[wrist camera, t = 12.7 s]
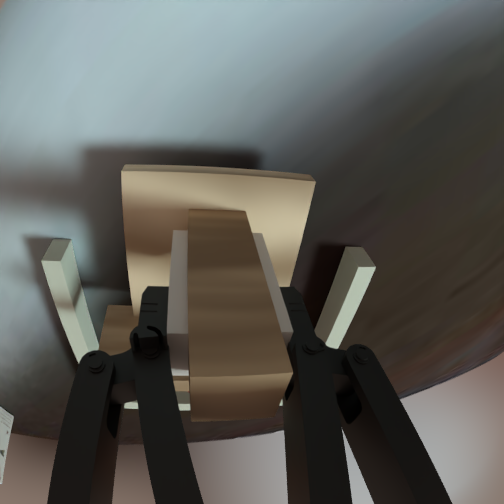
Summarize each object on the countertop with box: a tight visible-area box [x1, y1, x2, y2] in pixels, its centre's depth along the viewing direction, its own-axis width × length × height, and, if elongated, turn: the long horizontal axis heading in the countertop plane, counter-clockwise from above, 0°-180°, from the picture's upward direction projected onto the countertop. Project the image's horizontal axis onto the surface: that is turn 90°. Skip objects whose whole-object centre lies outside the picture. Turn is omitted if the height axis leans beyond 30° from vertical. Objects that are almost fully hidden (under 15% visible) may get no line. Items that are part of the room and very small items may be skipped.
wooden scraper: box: [98, 164, 316, 421], centre depth 15 cm, size 11×14×11 cm
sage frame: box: [41, 239, 376, 410], centre depth 27 cm, size 20×23×2 cm
